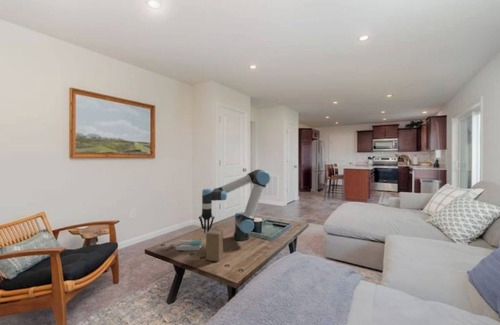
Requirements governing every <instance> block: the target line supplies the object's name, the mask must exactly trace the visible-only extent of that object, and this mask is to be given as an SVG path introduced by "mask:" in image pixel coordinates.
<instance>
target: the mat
mask: <svg viewBox="0 0 500 325" xmlns="http://www.w3.org/2000/svg"><path fill="white" fill-rule="evenodd" d="M173 246H174V244H170V245H169V246H168V247H167V249H166V252H168V251H170V250H171V248H172V247H173Z"/></svg>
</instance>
